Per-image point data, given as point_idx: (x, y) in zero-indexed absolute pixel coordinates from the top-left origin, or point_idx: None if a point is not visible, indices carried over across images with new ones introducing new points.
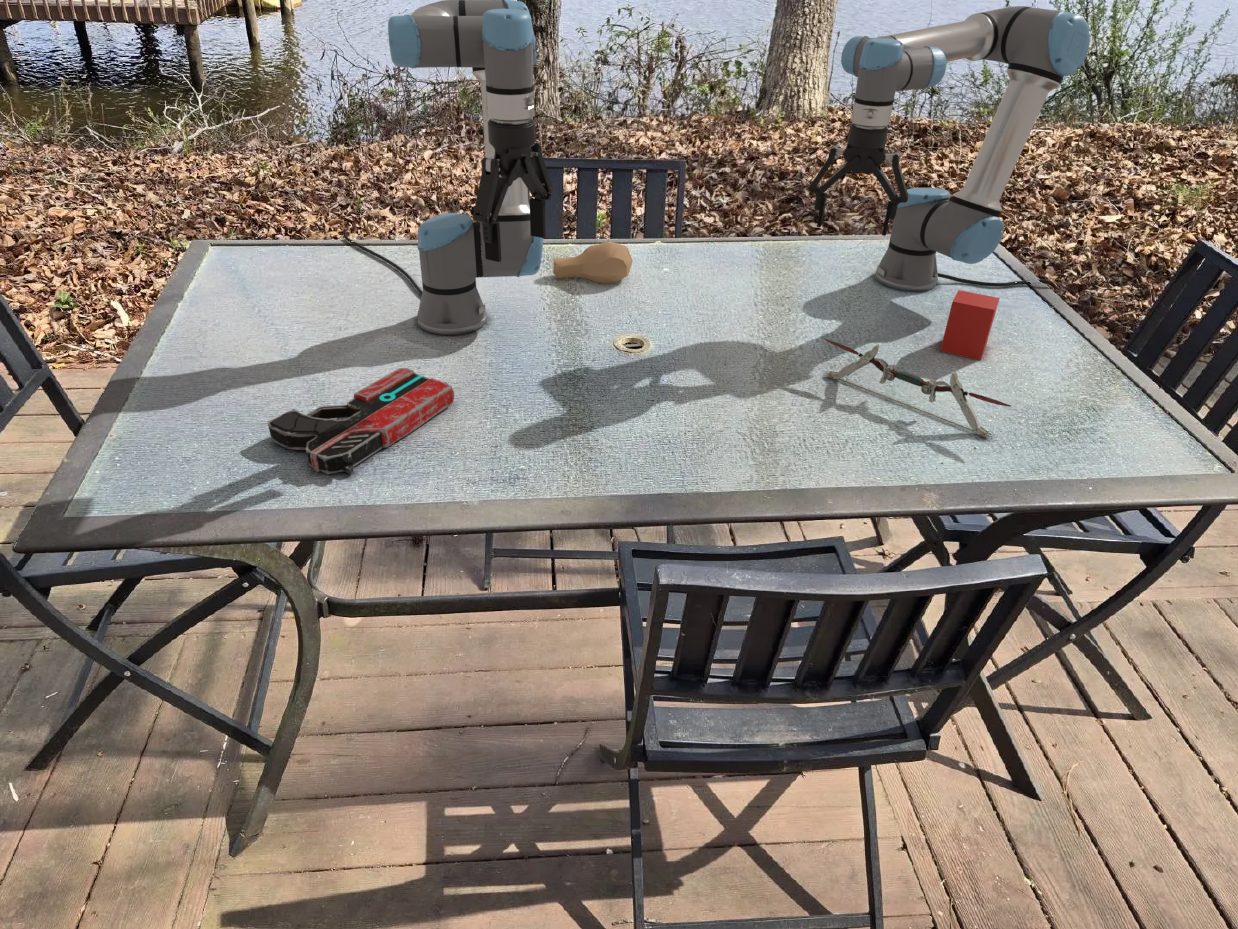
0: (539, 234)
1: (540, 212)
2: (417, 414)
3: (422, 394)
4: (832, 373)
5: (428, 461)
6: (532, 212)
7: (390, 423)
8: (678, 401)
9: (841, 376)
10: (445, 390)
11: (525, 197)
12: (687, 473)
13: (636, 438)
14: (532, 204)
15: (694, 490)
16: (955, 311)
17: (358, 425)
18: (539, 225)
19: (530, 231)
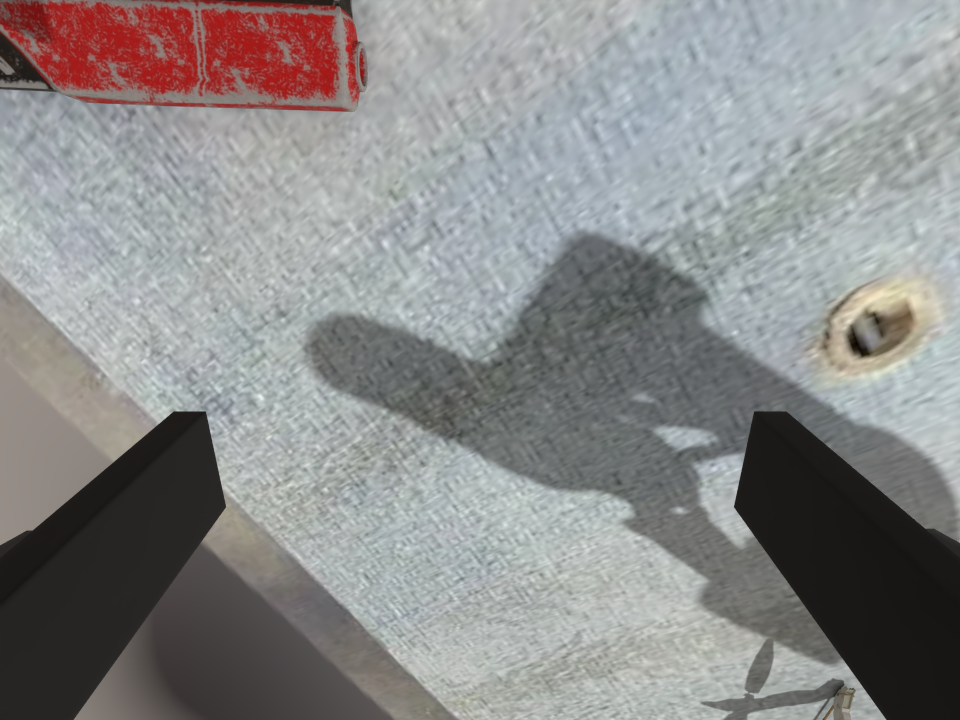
0: (749, 493)
1: (856, 653)
2: (195, 103)
3: (249, 60)
4: (843, 700)
5: (141, 223)
6: (870, 563)
7: (87, 88)
8: (638, 521)
9: (835, 714)
10: (313, 104)
11: None
12: (418, 616)
13: (469, 516)
14: (941, 639)
15: (382, 639)
16: None
17: (11, 10)
18: (787, 541)
19: (768, 427)
